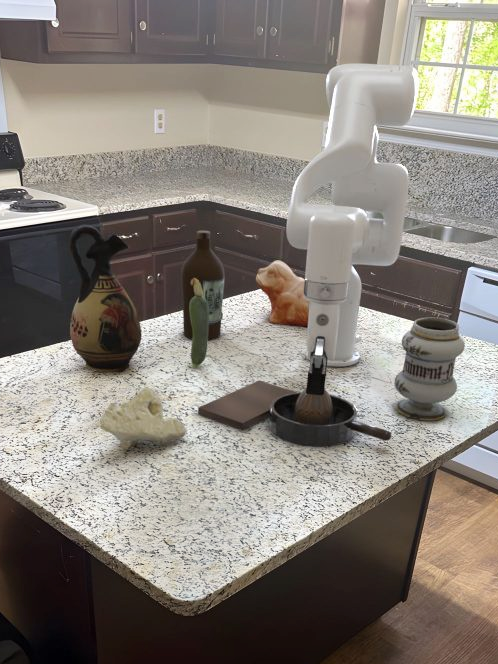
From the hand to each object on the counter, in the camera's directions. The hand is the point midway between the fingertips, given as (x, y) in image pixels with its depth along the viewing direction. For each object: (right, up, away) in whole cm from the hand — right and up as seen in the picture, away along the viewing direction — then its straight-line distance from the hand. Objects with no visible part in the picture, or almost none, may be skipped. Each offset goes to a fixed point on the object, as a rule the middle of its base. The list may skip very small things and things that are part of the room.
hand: (315, 384), depth 132 cm
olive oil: (-23, +22, +52) cm, 61 cm away
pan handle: (+9, -9, -3) cm, 13 cm away
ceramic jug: (-44, +9, +30) cm, 54 cm away
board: (-11, -2, +13) cm, 17 cm away
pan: (0, -7, +5) cm, 9 cm away
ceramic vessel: (+4, +29, +66) cm, 72 cm away
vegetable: (-23, +9, +31) cm, 40 cm away
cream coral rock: (-32, -12, -4) cm, 34 cm away
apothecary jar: (+23, -3, +14) cm, 27 cm away
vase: (0, -7, +5) cm, 9 cm away
